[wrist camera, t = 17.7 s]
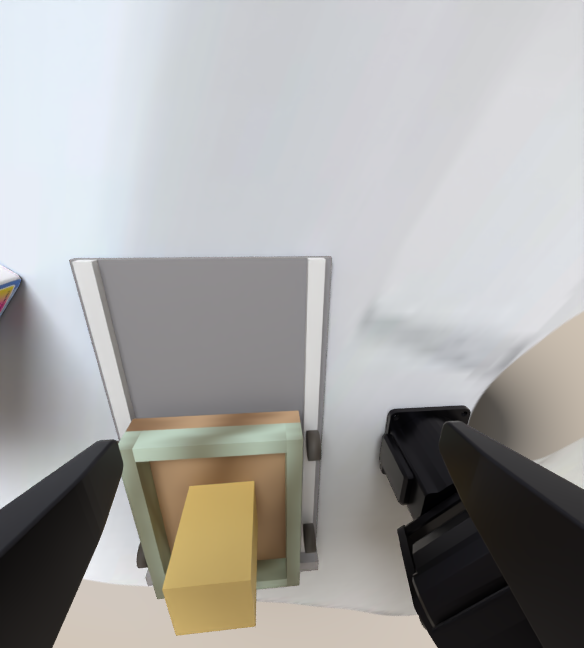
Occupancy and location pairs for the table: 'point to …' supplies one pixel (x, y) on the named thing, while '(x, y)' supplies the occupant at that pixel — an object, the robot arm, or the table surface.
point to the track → (212, 342)
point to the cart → (217, 468)
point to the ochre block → (214, 560)
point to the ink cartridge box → (7, 286)
